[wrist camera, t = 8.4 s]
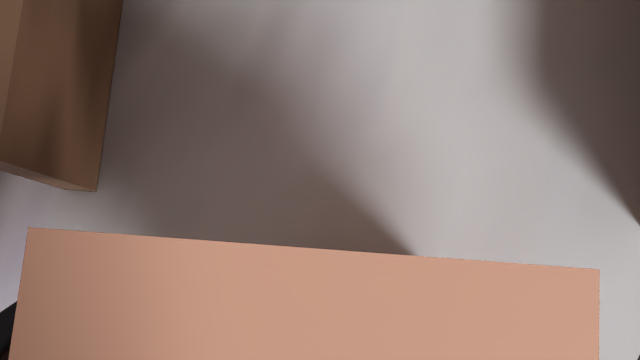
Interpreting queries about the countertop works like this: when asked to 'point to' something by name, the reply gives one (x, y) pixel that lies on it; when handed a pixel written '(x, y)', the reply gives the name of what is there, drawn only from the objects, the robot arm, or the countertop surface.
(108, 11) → the brown u-shaped piece
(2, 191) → the countertop surface
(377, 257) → the block
